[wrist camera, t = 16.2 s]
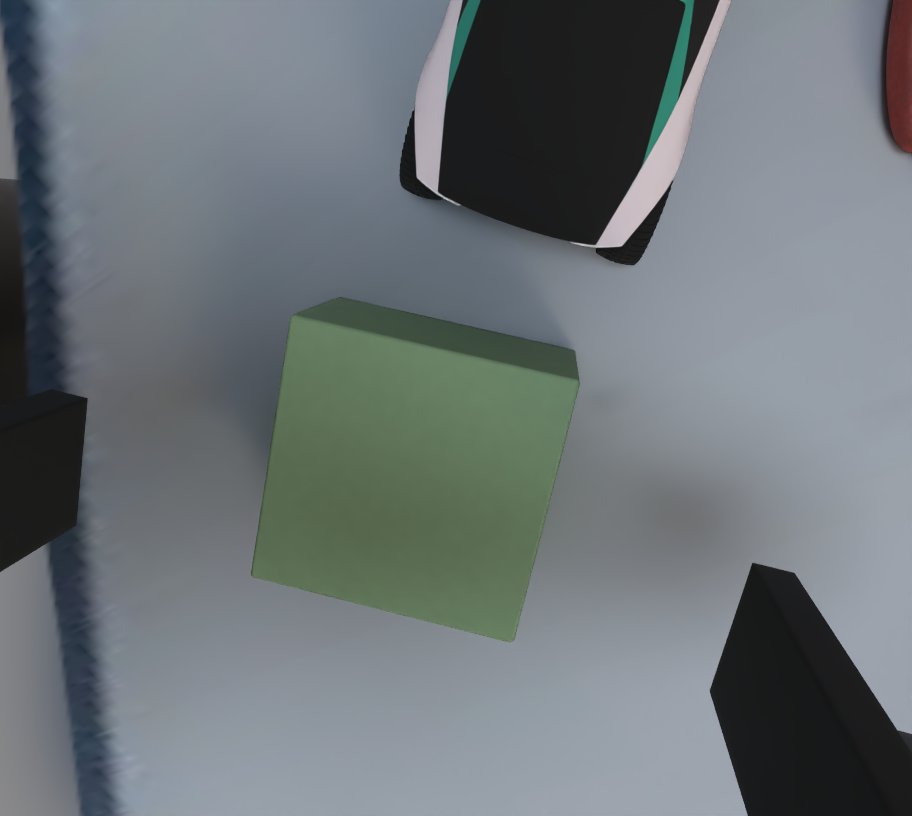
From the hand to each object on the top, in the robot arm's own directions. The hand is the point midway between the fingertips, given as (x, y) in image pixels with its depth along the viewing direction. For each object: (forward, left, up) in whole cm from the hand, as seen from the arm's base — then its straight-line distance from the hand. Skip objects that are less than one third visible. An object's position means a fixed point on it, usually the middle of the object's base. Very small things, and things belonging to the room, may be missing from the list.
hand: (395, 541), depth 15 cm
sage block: (0, 0, -7) cm, 7 cm away
